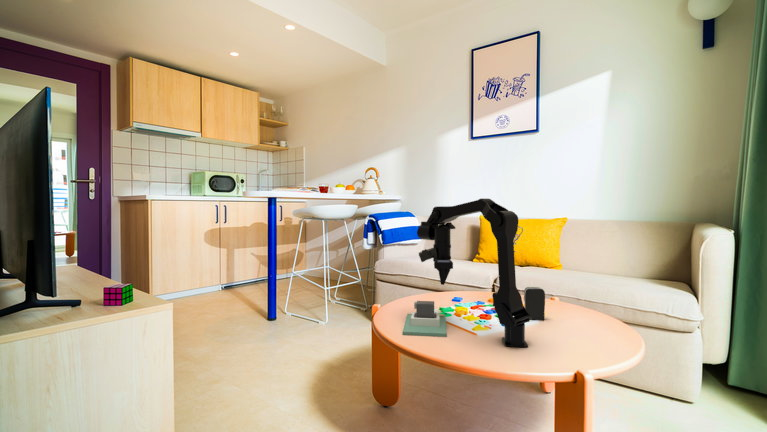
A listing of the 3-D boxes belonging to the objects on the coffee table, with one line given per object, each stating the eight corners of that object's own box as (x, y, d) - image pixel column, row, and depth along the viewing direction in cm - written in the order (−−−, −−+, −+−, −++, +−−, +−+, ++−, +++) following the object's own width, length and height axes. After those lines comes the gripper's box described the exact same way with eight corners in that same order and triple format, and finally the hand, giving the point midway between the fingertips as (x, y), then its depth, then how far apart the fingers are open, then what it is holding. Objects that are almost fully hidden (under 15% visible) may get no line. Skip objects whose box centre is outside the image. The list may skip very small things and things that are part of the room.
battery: (542, 317, 136) (542, 286, 136) (545, 320, 133) (545, 288, 132) (522, 316, 138) (522, 285, 137) (524, 319, 134) (525, 288, 133)
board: (446, 336, 117) (446, 325, 117) (402, 334, 119) (402, 324, 119) (445, 317, 137) (445, 308, 137) (407, 316, 139) (407, 306, 139)
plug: (434, 324, 125) (434, 304, 125) (414, 324, 126) (414, 303, 126) (434, 321, 129) (434, 301, 129) (414, 320, 130) (414, 300, 130)
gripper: (420, 238, 143) (420, 279, 143) (419, 244, 124) (419, 290, 125) (449, 238, 142) (449, 279, 142) (453, 244, 123) (453, 290, 124)
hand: (442, 284), depth 133 cm, fingers closed
